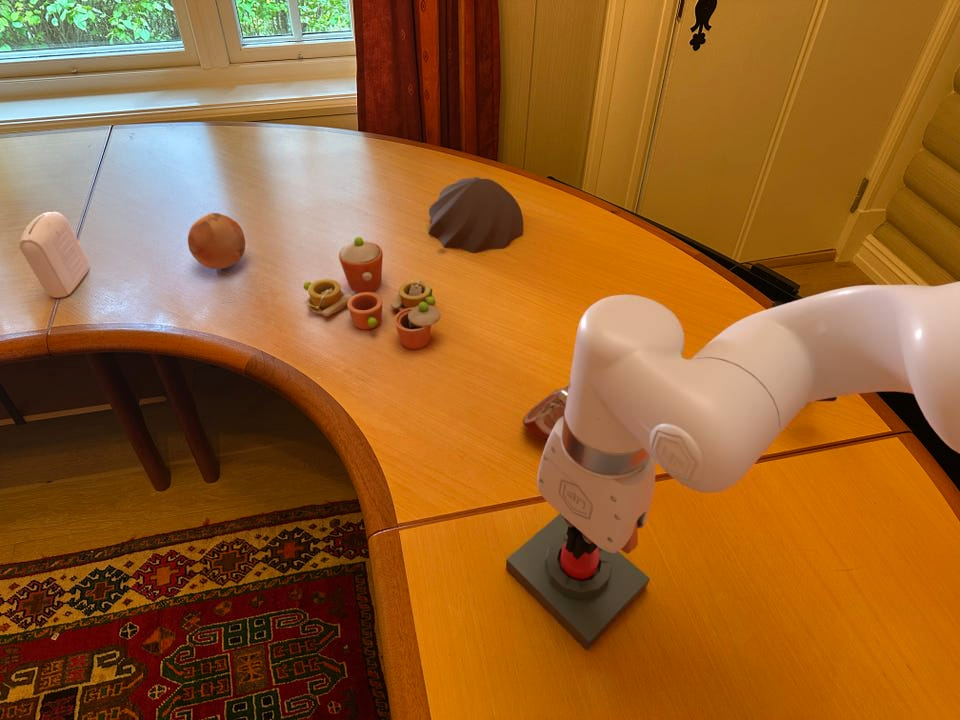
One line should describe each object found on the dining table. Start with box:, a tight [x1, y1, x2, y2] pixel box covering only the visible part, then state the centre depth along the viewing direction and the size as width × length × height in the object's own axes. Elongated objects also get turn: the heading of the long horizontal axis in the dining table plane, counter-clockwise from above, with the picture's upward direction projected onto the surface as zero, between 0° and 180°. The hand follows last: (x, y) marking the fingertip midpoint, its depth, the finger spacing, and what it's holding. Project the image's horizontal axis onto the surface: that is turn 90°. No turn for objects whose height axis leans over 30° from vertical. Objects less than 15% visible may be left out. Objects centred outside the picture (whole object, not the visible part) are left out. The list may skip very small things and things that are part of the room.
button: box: [560, 542, 600, 579], centre depth 64 cm, size 4×4×2 cm
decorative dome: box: [427, 176, 524, 254], centre depth 119 cm, size 19×20×10 cm
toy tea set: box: [302, 236, 441, 350], centre depth 99 cm, size 26×16×10 cm, turn 58°
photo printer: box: [18, 211, 91, 299], centre depth 104 cm, size 10×4×12 cm, turn 4°
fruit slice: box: [522, 385, 569, 440], centre depth 82 cm, size 8×7×5 cm
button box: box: [505, 513, 651, 651], centre depth 66 cm, size 12×10×4 cm
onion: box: [187, 212, 246, 270], centre depth 109 cm, size 10×10×10 cm
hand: (581, 545), depth 63 cm, fingers closed
